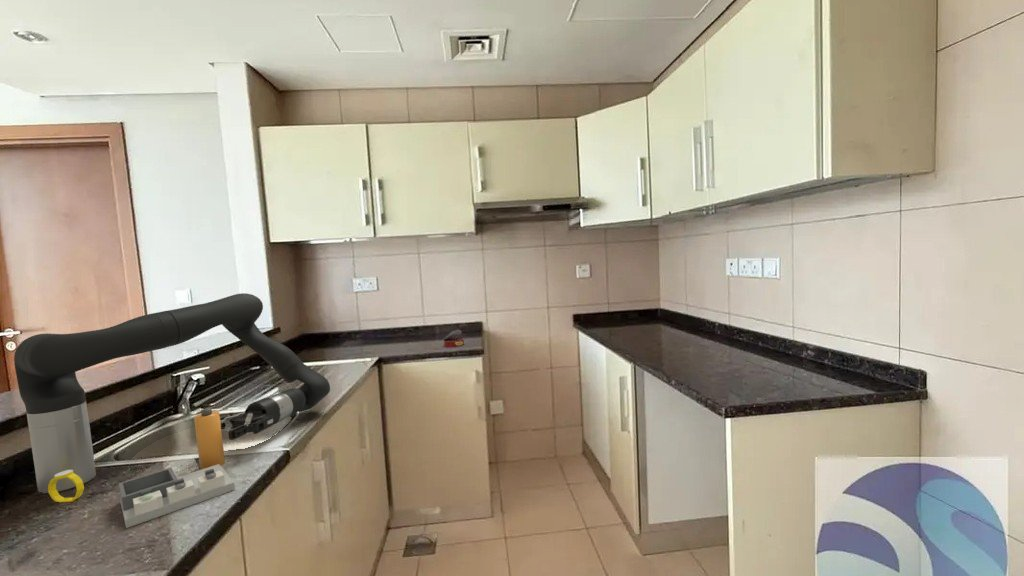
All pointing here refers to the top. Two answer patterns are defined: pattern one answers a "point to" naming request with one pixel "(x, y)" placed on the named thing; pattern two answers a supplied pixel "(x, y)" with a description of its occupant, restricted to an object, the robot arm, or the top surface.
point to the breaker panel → (183, 502)
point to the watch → (70, 475)
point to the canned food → (453, 339)
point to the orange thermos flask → (209, 438)
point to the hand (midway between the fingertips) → (215, 434)
